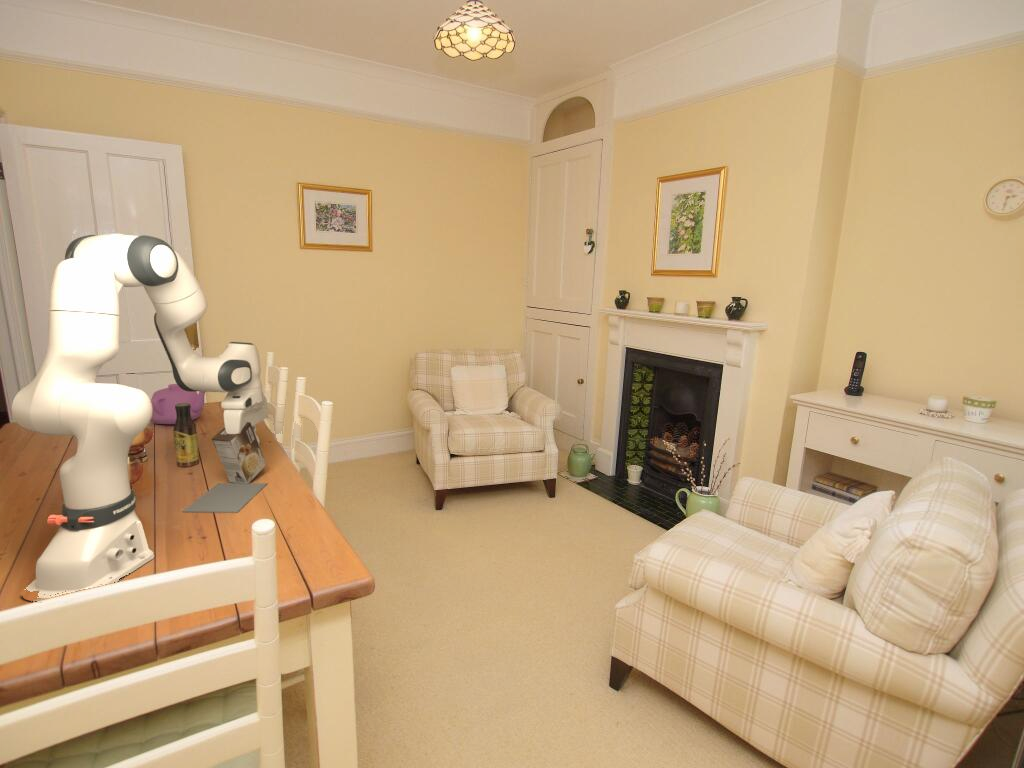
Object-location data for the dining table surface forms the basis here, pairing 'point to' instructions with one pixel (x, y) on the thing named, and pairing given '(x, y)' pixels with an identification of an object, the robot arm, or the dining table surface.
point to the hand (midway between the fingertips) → (250, 440)
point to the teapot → (169, 398)
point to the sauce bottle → (185, 437)
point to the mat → (226, 498)
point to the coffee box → (239, 454)
